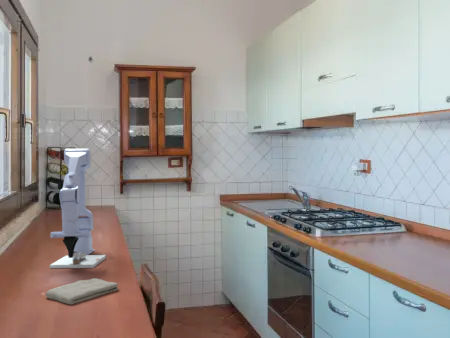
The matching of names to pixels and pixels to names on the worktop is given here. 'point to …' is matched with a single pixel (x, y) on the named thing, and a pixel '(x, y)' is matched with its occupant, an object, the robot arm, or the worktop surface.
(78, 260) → the silver piece
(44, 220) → the worktop surface
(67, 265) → the base
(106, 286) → the washcloth
